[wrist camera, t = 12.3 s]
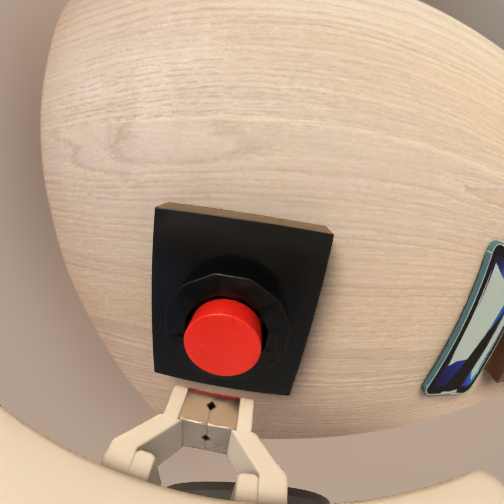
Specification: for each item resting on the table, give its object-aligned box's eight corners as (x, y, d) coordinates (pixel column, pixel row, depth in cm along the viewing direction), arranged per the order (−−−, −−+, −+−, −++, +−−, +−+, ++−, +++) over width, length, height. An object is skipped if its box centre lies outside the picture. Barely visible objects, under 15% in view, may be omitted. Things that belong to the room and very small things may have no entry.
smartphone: (532, 260, 16) (467, 394, 20) (526, 257, 16) (463, 388, 21) (495, 239, 15) (420, 395, 19) (488, 236, 16) (416, 389, 20)
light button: (256, 362, 16) (254, 381, 14) (190, 350, 16) (182, 368, 14) (267, 304, 15) (267, 321, 13) (193, 292, 15) (184, 307, 13)
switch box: (288, 376, 20) (290, 413, 17) (163, 355, 21) (146, 387, 17) (326, 226, 17) (342, 242, 13) (167, 202, 17) (141, 211, 13)
